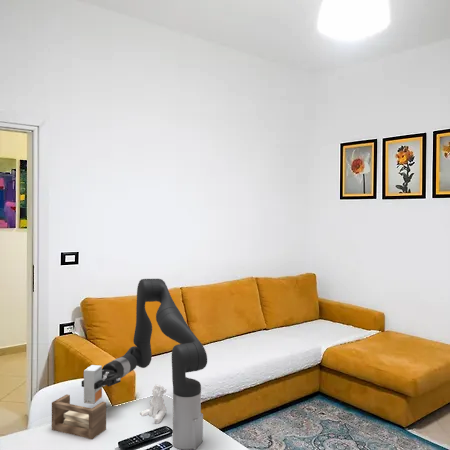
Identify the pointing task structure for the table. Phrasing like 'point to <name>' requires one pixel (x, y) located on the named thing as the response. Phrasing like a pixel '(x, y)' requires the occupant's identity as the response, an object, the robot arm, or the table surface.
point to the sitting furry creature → (156, 405)
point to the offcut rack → (95, 414)
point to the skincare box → (92, 384)
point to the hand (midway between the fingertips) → (88, 385)
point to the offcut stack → (76, 419)
